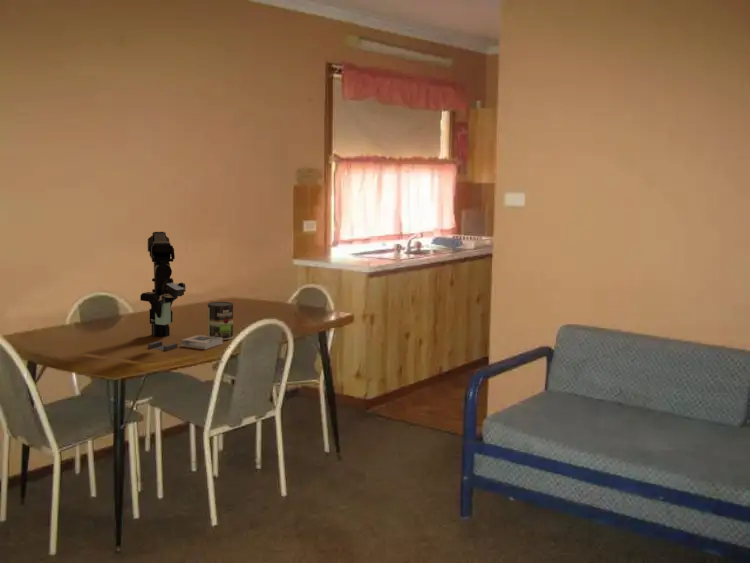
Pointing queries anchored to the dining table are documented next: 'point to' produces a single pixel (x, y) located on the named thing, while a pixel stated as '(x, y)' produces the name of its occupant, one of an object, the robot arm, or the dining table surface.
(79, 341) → the dining table surface
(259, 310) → the dining table surface
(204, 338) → the port
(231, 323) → the coffee can
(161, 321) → the plug
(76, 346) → the dining table surface
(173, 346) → the dark grey bracket
